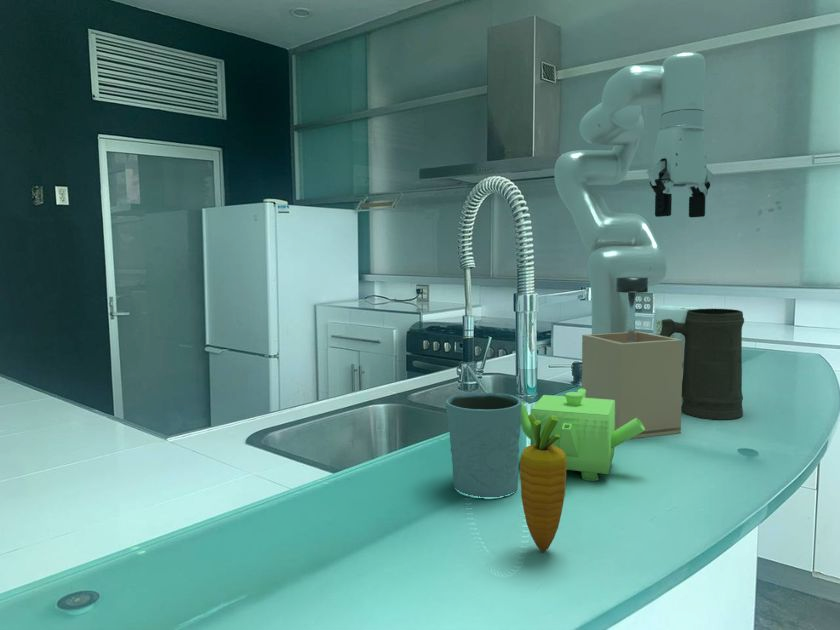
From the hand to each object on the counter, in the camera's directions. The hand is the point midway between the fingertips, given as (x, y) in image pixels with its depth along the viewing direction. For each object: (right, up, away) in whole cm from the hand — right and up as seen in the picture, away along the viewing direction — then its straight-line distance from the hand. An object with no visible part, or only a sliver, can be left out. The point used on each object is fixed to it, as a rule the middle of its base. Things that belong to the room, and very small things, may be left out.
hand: (680, 216), depth 121 cm
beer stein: (+4, -38, +1) cm, 38 cm away
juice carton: (+5, -36, +15) cm, 39 cm away
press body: (-13, -38, -7) cm, 41 cm away
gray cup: (-41, -42, -35) cm, 68 cm away
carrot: (-36, -44, -53) cm, 78 cm away
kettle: (-27, -41, -28) cm, 56 cm away
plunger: (-12, -27, -9) cm, 32 cm away
